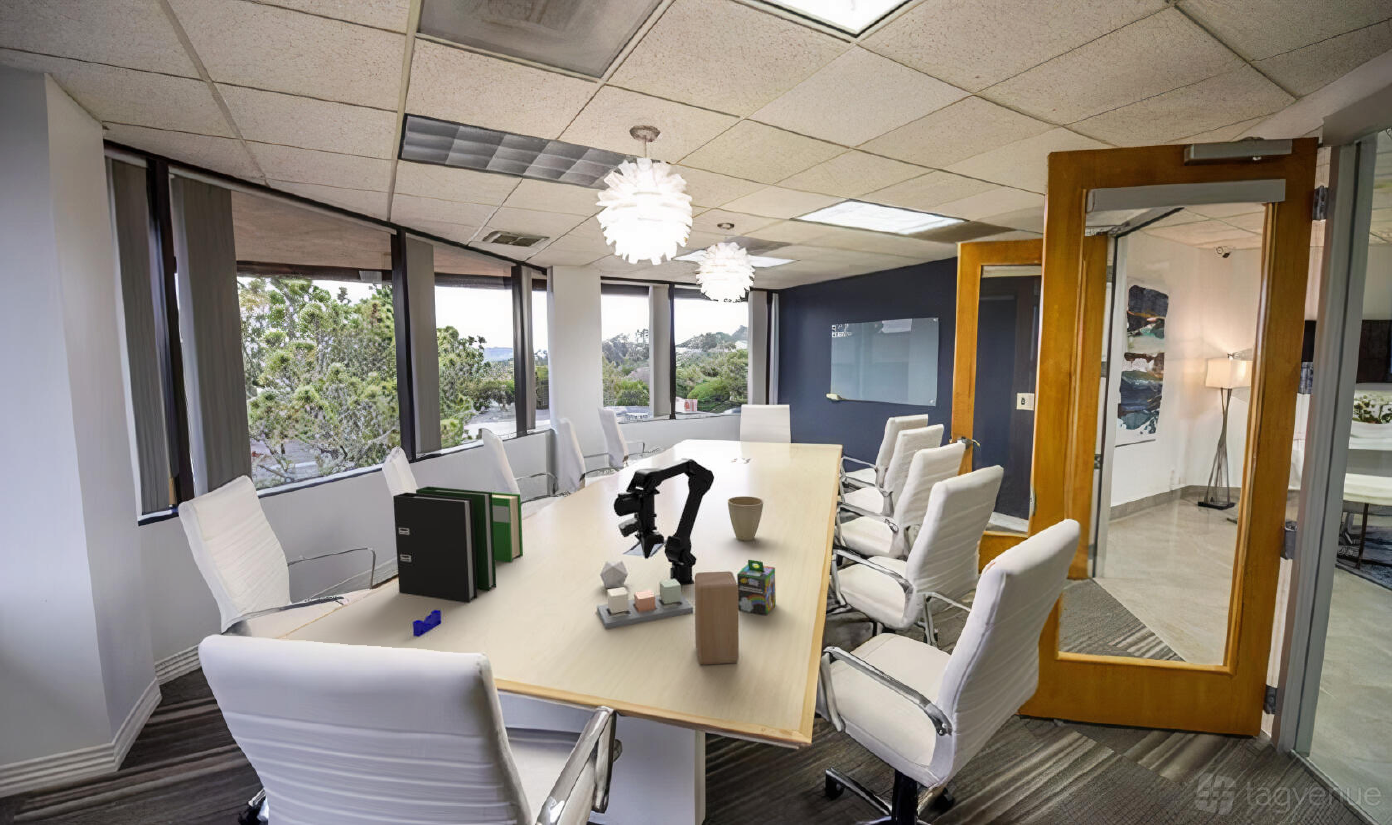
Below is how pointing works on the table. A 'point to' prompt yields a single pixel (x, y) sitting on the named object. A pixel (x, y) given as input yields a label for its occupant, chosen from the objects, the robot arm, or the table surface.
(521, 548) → the hardback book
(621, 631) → the table surface
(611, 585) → the die
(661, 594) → the plunger sage
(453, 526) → the ring binders
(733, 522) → the plant pot
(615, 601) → the plunger cream
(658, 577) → the table surface
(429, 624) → the cable holder
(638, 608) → the salmon pink cube
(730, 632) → the block
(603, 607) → the grey slotted board
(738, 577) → the chalk box
